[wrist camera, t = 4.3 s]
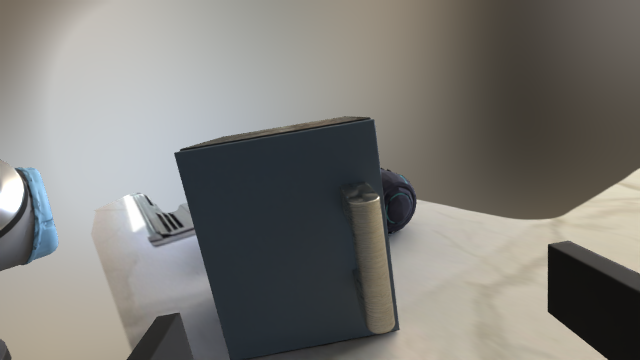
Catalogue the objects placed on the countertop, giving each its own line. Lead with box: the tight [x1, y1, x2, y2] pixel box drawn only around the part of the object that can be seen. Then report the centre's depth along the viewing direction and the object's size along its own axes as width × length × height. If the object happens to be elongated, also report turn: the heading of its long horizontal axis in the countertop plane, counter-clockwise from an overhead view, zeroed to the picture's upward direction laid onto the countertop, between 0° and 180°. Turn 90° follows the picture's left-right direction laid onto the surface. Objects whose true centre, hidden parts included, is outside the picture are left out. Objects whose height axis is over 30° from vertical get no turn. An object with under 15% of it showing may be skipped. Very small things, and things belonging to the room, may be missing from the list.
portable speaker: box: [380, 168, 416, 232], centre depth 58 cm, size 25×10×10 cm, turn 19°
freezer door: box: [174, 119, 399, 360], centre depth 24 cm, size 7×16×20 cm, turn 94°
